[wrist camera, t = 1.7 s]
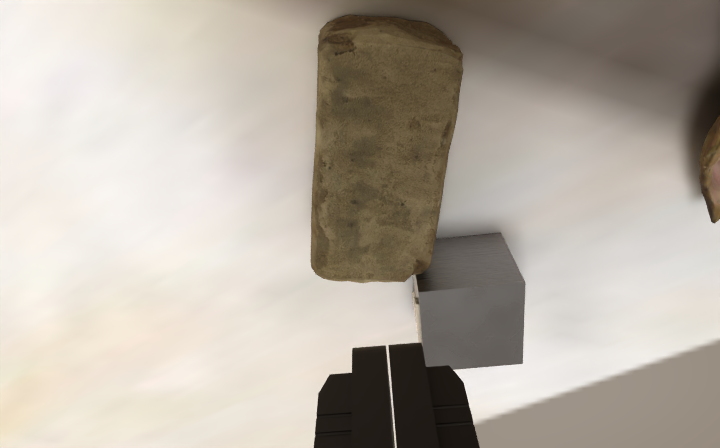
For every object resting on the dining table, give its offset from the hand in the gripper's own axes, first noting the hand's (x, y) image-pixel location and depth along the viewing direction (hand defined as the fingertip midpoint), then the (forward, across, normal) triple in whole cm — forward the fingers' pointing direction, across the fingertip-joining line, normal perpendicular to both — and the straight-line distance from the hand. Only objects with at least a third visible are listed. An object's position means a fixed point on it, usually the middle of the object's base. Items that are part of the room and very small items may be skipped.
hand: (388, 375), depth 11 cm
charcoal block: (+17, -4, +9) cm, 19 cm away
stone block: (+17, 0, 0) cm, 17 cm away
